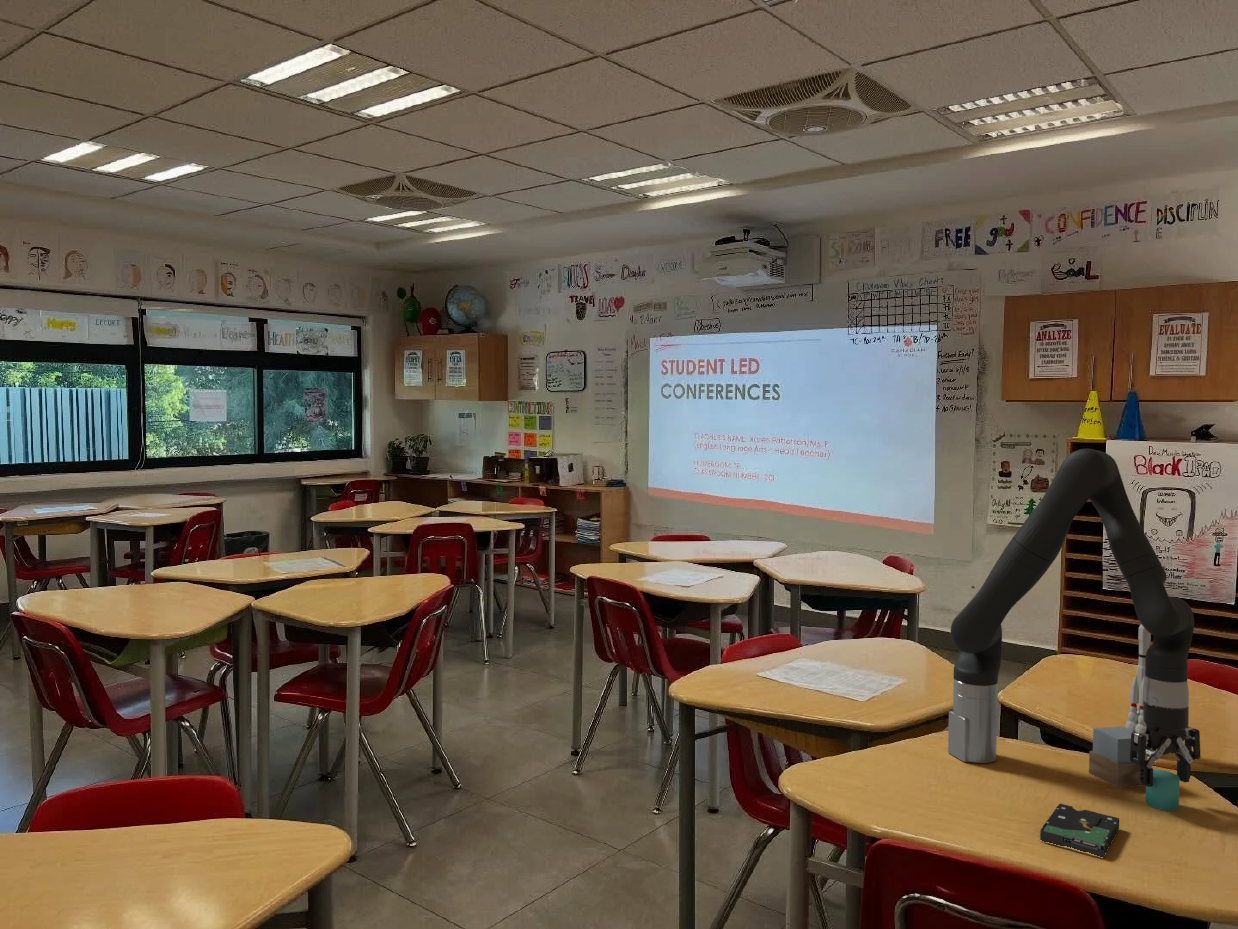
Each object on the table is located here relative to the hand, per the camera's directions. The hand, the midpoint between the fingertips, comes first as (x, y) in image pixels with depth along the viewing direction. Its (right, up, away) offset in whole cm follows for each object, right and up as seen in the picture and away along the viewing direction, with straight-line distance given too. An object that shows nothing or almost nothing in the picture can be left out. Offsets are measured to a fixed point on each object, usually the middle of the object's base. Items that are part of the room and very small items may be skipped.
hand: (1164, 783), depth 173 cm
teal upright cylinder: (0, -4, 0) cm, 4 cm away
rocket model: (+13, -4, +30) cm, 33 cm away
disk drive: (-23, -6, -13) cm, 27 cm away
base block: (-1, -4, +13) cm, 14 cm away
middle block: (-1, +1, +13) cm, 13 cm away
